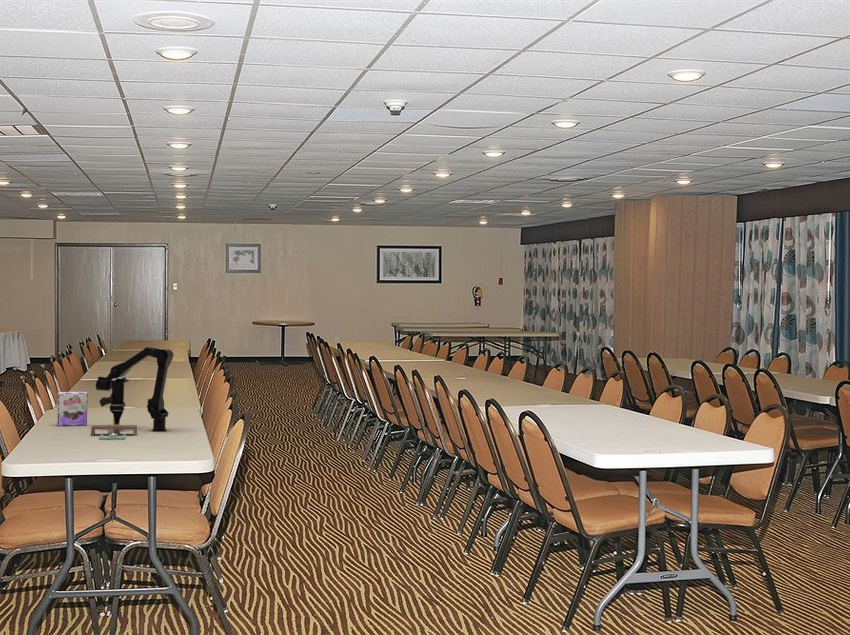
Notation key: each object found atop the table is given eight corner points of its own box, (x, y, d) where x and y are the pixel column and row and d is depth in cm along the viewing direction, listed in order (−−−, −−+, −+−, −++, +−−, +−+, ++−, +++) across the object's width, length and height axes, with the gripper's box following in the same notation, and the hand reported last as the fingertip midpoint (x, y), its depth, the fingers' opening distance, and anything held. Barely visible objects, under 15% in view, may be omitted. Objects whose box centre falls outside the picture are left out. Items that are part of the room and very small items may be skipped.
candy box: (57, 426, 485) (58, 392, 484) (56, 424, 490) (57, 391, 490) (87, 425, 490) (87, 392, 489) (86, 424, 495) (87, 391, 495)
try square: (111, 428, 485) (111, 410, 485) (122, 428, 486) (122, 410, 486) (107, 434, 463) (108, 415, 463) (119, 434, 465) (119, 415, 464)
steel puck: (109, 437, 453) (109, 434, 453) (108, 436, 457) (108, 433, 457) (118, 437, 455) (118, 433, 455) (117, 436, 459) (117, 433, 459)
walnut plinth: (92, 433, 463) (92, 424, 463) (136, 433, 467) (136, 424, 467) (90, 435, 457) (91, 426, 457) (136, 435, 462) (136, 426, 462)
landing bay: (100, 436, 456) (100, 434, 456) (125, 436, 459) (125, 434, 459) (98, 439, 445) (99, 438, 445) (124, 439, 448) (124, 437, 448)
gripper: (102, 389, 490) (101, 420, 491) (99, 393, 472) (98, 425, 472) (125, 389, 493) (124, 420, 493) (123, 393, 475) (122, 425, 475)
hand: (117, 423), depth 483 cm, fingers open, 9 cm apart
